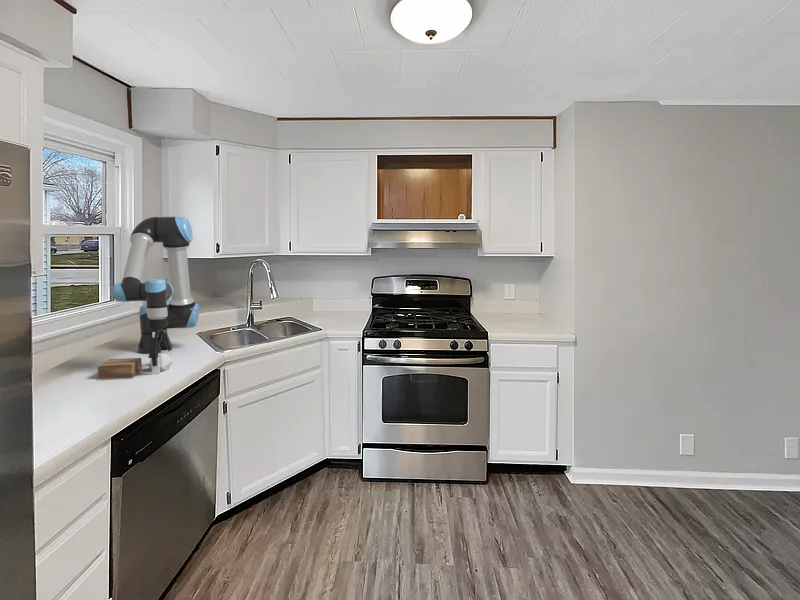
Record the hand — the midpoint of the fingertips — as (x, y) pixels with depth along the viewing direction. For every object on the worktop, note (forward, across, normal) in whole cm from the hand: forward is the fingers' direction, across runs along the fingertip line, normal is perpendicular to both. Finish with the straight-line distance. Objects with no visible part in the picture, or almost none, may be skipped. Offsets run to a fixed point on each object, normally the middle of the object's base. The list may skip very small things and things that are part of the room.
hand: (160, 369), depth 222 cm
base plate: (+1, +5, -14) cm, 14 cm away
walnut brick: (0, +5, -14) cm, 14 cm away
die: (+2, 0, 0) cm, 2 cm away
